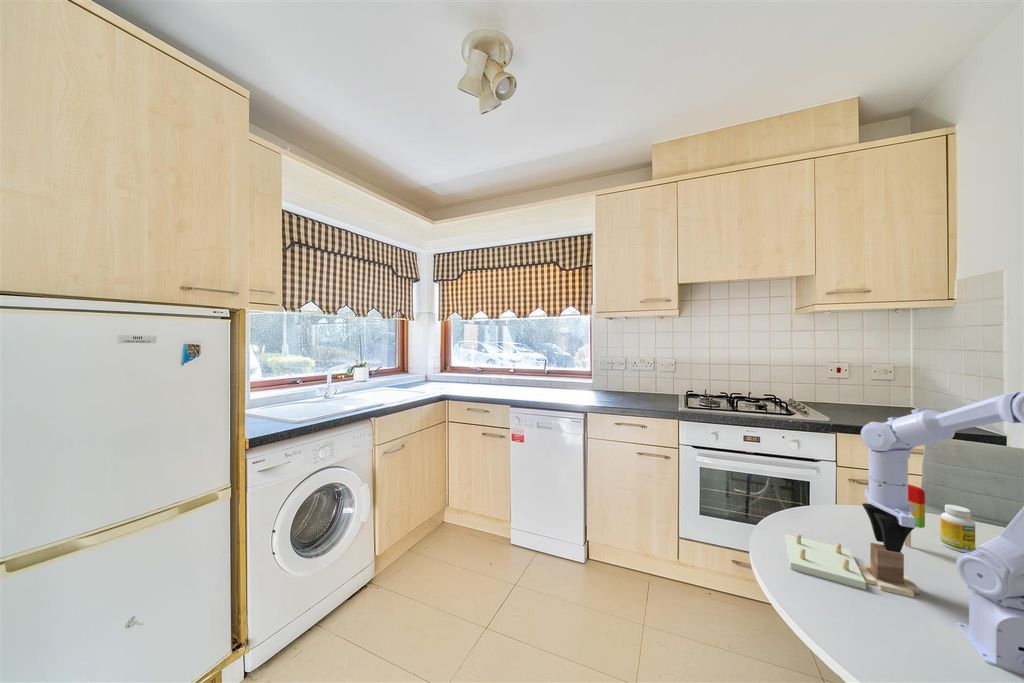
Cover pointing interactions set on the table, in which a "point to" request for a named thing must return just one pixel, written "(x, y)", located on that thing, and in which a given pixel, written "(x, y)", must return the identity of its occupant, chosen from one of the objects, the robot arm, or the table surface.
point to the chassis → (823, 561)
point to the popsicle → (918, 500)
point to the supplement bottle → (958, 529)
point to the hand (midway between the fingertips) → (887, 546)
